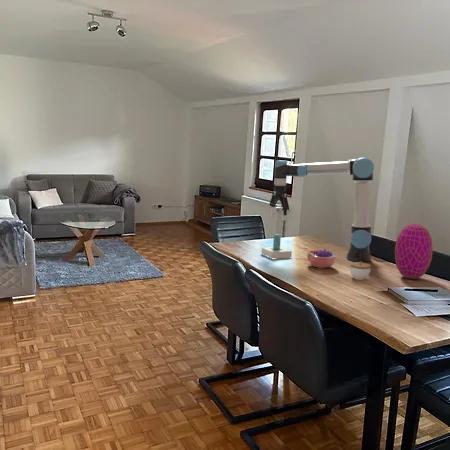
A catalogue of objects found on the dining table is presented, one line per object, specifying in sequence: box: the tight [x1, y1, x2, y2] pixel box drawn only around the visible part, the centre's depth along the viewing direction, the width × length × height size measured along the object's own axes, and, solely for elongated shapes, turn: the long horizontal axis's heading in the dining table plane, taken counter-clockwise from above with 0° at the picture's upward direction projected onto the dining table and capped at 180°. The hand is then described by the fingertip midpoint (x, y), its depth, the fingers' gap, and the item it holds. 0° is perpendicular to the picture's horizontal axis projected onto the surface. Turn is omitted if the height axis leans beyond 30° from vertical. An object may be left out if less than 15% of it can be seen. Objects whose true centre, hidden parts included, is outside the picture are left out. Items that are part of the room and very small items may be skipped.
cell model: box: [306, 248, 338, 269], centre depth 277 cm, size 17×20×11 cm
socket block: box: [261, 246, 293, 259], centre depth 302 cm, size 14×14×4 cm
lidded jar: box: [349, 261, 372, 281], centre depth 256 cm, size 11×11×9 cm
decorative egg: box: [394, 223, 433, 280], centre depth 258 cm, size 19×19×30 cm
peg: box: [272, 233, 282, 251], centre depth 301 cm, size 4×4×14 cm
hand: (278, 218), depth 298 cm, fingers open, 13 cm apart
